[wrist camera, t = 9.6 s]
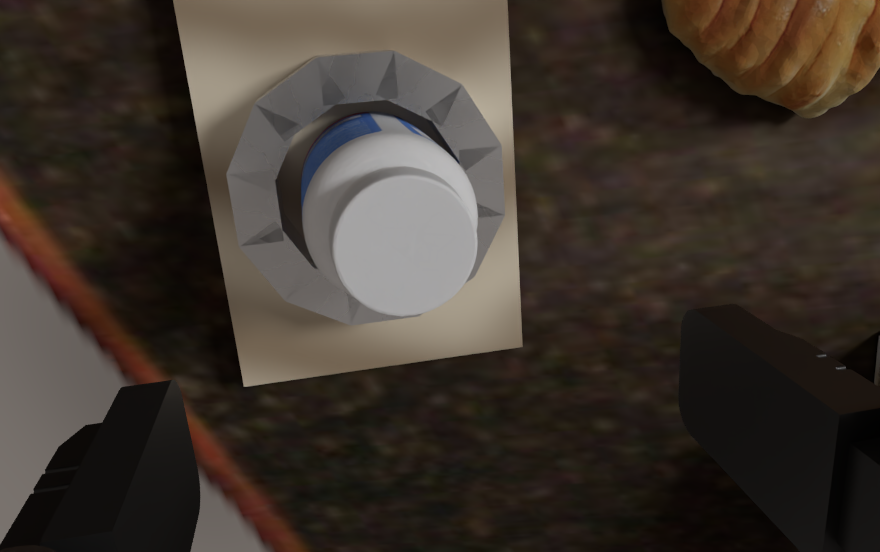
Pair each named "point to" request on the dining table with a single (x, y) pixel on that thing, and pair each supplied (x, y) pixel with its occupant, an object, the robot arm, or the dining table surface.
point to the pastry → (783, 47)
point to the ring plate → (225, 116)
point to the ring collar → (305, 100)
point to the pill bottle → (388, 214)
